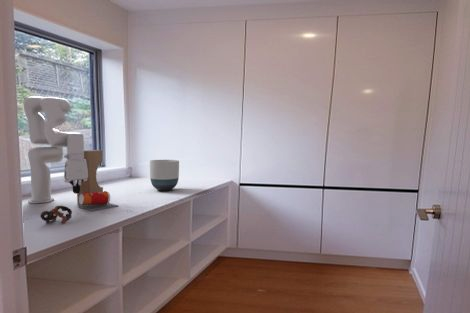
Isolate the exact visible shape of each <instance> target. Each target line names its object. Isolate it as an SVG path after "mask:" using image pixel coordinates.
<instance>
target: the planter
mask: <svg viewBox="0 0 470 313" xmlns="http://www.w3.org/2000/svg"><path fill="white" fill-rule="evenodd" d="M149 176H150V177H149V178H150V183H151V185H152V187H153V188H154V189H155V190H158V191H161V192H168V191H171V190H173V189H174V188H175V187H176V186H177V185H178V184H179V183H178V182H179V176H180V160H178V159H152V160H150V161H149Z"/></svg>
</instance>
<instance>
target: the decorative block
mask: <svg viewBox="0 0 470 313" xmlns="http://www.w3.org/2000/svg"><path fill="white" fill-rule="evenodd" d="M84 160H86V162H87V168H88V178H87V181H84V182H82V184H81V185H80V191H79V193H77V194H76V201H77V202H76V203H77V205H79V206H84V204H80V203H79V196H80V194H83V193H94V192H104V186H100V185H99V183H98V181H97V171H98V168H99V166H100V165H101V164H102V163H103V150H102V149H87V150H85V149H84Z"/></svg>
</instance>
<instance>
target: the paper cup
mask: <svg viewBox="0 0 470 313" xmlns="http://www.w3.org/2000/svg"><path fill="white" fill-rule="evenodd" d="M79 203H80V204H84V205H106V204H108V203H111V195H110V192H109V191H106V190H103V192H94V193H83V194H80V196H79ZM84 205H83V206H84Z"/></svg>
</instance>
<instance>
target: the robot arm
mask: <svg viewBox="0 0 470 313" xmlns="http://www.w3.org/2000/svg"><path fill="white" fill-rule="evenodd" d="M71 108H72V106H71V103H70V102H69V100H68V99H66V98H63V97H62V98H61V97H60V98H59V97H54V96H48V97H47V96H45V97H44V96H29V97H26V98H25V99H24V100H23V109H24V114H25V116H26V119H27V124H28V133H29V135H28V136H29V140H30V142H31V144H33V145H41V146H36V147H35V146H34V147H32V148H30V149H29V150H28V153H27V156H28V161H29V162H28V163H29V168H30V169H29V170H30V188H31V189H30V190H31V191H30V192H31V194H30V195H31V199H29V200H28V203H29V204H45V203H51V202H53V201H54V200H55V198H54V197H52V187H51V182H52V181H51V169H50V168H49V167H48V166H47V164H53V163H54V164H55V163H56V164H57V163H60V162H62V161H63V159H66V160H65V162H64V171H63V172H64V174H63V175H64V176H63V177H64V183H66V184H67V183H68V184H70V185H71V186H72V192H73V194H75V195H77V193H79V191H80V185H81V184H82V182H84V181H87V178H88V168H87V162H86V160H84V150H85V146H84V144H85V138H84V134H83V133H81V132H68V131H67V132H65V131H64V132H63V131H59V130H58V129H55V128H57V127H60V126H62V125H64V123H66V120H67V117H66V115H67V114H69V113H70V112H71V110H72V109H71ZM41 113H44V116H45V117H46V119H45V117H44V116H43V115H42V114H41ZM65 114H66V115H65ZM46 120H47V121H46ZM44 145H45V146H44ZM47 145H49V146H47ZM64 148H66V152H67V153H66V154H65V155H64Z"/></svg>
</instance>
